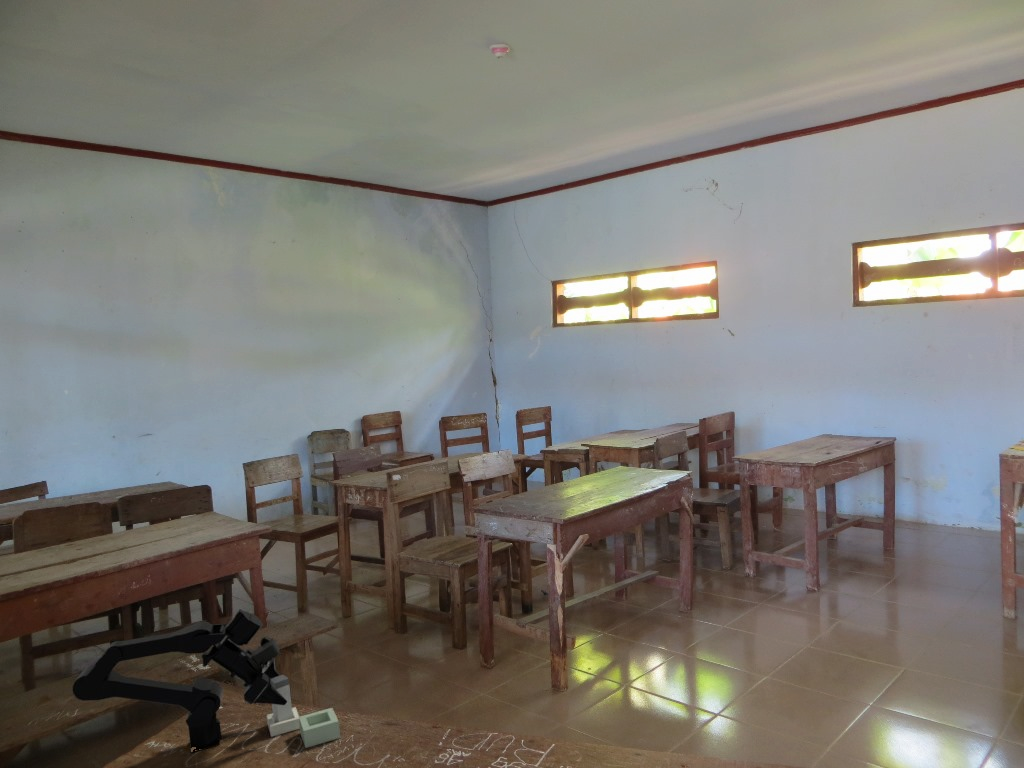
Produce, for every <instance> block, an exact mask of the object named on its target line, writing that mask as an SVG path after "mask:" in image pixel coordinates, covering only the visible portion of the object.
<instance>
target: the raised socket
mask: <svg viewBox="0 0 1024 768" xmlns="http://www.w3.org/2000/svg"><path fill="white" fill-rule="evenodd" d="M299 725H300V729H299V733H300V736H301V739H302V742H303V744H304V747H305V749H307V748H310V747H314V746H318V745H321V744H323V743H327V742H330V741H331V742H332V741H334V740H337V739H341V732H340V721H339V719H338V717H337V715H336V713H335V711H334V708H333V707H329V708H326V709H322V710H319V711H315V712H312V713H311V712H310V713H309V714H308V713H307V714H304V715H301V716H300V715H299Z"/></svg>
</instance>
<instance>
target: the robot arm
mask: <svg viewBox="0 0 1024 768" xmlns="http://www.w3.org/2000/svg"><path fill="white" fill-rule="evenodd" d="M262 626H264V624H263V621H262V620H261V619H260V618H259V617H257V616H256V615H255V614H254V613H250V612H249V611H246V610H245V611H244V610H243V609H238V610H237V612H235V615H234V617H233V618H232V619H231V620H230V621H229V623H217V624H215V623H213V624H212V623H210V622H208V621H206V620H205V621H199V622H196V623H193V624H191V625H187V626H185V627H183V628H181V629H178V630H177V631H176V630H175V631H173V632H168V633H167V632H166V633H162V634H157V635H156V634H155V635H150V636H145V637H138V638H134V639H133V638H132V639H127V640H115V641H113V642H112V643H110V645H109V646H108V648H107V650H105V652H104V653H103V654H102V656H100V658H99V659H97V661H96V662H95V663H94V664H92V665H89V666H87V667H85V669H84V670H82V672H81V673H80V674H79V676H77V678H76V679H75V681H74V683H73V685H72V693H73V696H75V699H77V700H79V701H82V702H87V701H89V702H91V701H93V702H94V701H104V700H107V699H111V698H118V699H119V698H120V699H128V700H133V701H134V700H136V701H141V702H142V701H143V702H149V703H157V704H163V705H171V706H179V707H180V708H182V709H184V710H185V711H187V712H188V713H187V716H186V718H185V719H186V720H185V723H186V725H187V727H188V735H189V736H188V737H189V747H190V746H191V748H192V747H196V749H194V750H193V751H195V750H199V749H204V748H207V749H209V748H208V747H211V748H213V747H212V746H215V747H217V746H216V745H218V746H220V744H221V742H220V740H221V739H222V732H221V730H222V729H221V721H220V718H219V717H218V718H217V712H218V711H219V710H220V707H221V705H222V700H223V696H224V690H223V688H222V686H221V684H220V683H219V682H216V681H214V678H210V679H205V678H202V677H199V676H198V677H197V676H196V677H195V680H194V682H192V683H188V684H182V683H176V682H175V683H174V682H166V681H161V680H160V681H159V680H152V679H146V678H145V679H144V678H139V677H138V678H137V677H132V676H131V677H130V676H124V675H122V674H120V673H118V672H116V671H115V670H114V668H115V667H116V665H117V664H118V663H120V662H123V661H129V660H135V659H141V658H147V657H151V656H157V655H164V654H168V653H182V654H186V655H187V654H201V658H202V666H203V667H204V668H206V667H207V666H208V664H209V663H210V662H211V661H213V663H216V665H219V666H220V667H221V668H223V669H224V670H225V671H227V672H229V677H230V678H232V679H233V678H234V677H236V678H237V679H239V680H240V681H242V682H243V684H242V685H243V686H244V687H245V689H244V693H243V700H244V702H246V703H247V704H249V705H252V704H254V705H255V704H269V705H272V704H277V705H285V704H286V703H287V700H286V699H285V698H284V697H283V696H282V695H281V694H280V693H279V692H278V691H277V690H275V689H274V688H273V687H272V681H271V679H272V678H275V677H277V676H280V675H281V674H280V673H279V671H278V670H277V668H276V663H275V662H276V660H275V658H276V657H278V656H279V655H280V650H281V648H280V647H279V645H278V643H277V640H276V639H274V638H273V637H269V636H267V635H265V636H263V637H262V638H260V646H258V647H257V648H256V649H255V650H252V649H250V648H245V649H246V650H245V649H243V648H241V647H242V646H243V645H245V646H246V645H248V644H249V642H250V641H251V640H252V639H253V638H254V636H255V635H256V634H257V633H258V632H259V630H260V629H261V628H262ZM204 750H205V749H204Z"/></svg>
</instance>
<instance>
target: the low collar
mask: <svg viewBox="0 0 1024 768" xmlns="http://www.w3.org/2000/svg"><path fill="white" fill-rule="evenodd" d="M292 716H293V719H289V720H285V721H282V722H278V723H274V721H273V712H271V713H269V714H266V722H267V727H268V730H269V731H268V732H269V735H270V737H271V738H272V737H275V736H279V735H283V734H286V733H290V732H294V731H296V730H300V725H299V717H300V714H299V713H298V710H297V707H296V706H294V707H292Z"/></svg>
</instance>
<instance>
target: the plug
mask: <svg viewBox="0 0 1024 768" xmlns="http://www.w3.org/2000/svg"><path fill="white" fill-rule="evenodd" d="M271 681H272V687H273V688H274V689H275V690H277V691H278V692H279V693H280V694H281V695H282V696H283V697H284V698H285V699H286V700H287V703H286V704H285V705H277V704H271V710H272V713H273V721H274V723H278V722H282V721H285V720H289V719H293V716H292V708H293V707H292V700H291V690H290V689H291V688H290V687H291V686H290V680H289V677H287V676H286V675H285V674H280V676H277V677H275V678H272V679H271Z"/></svg>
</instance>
